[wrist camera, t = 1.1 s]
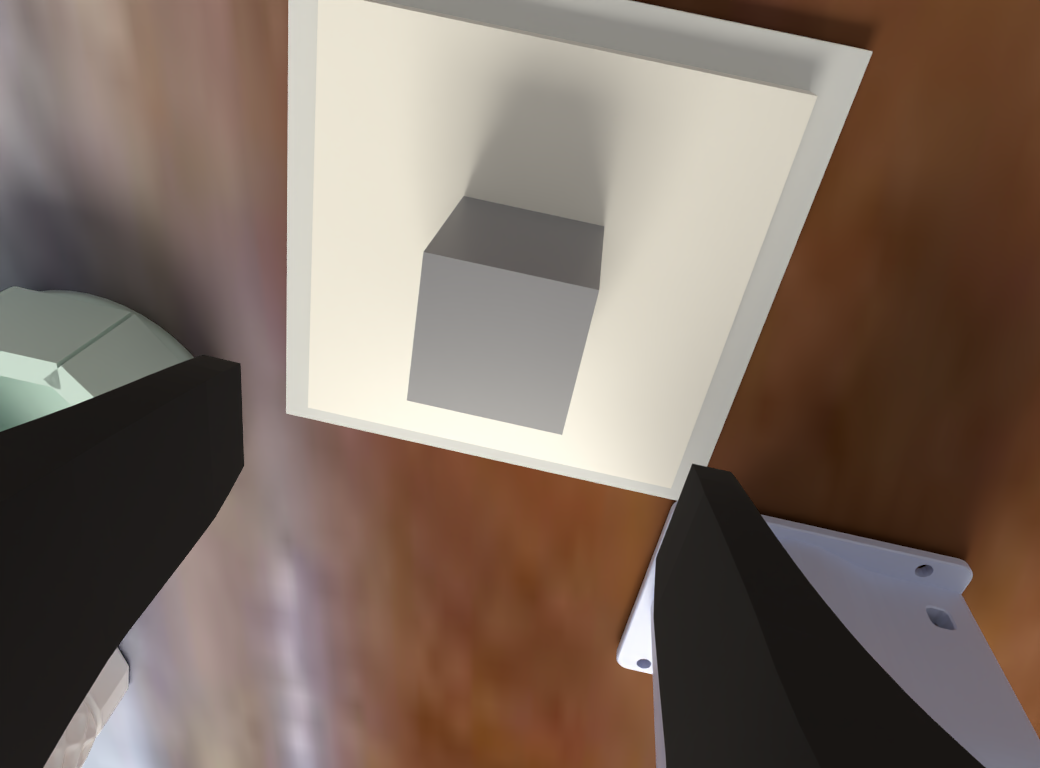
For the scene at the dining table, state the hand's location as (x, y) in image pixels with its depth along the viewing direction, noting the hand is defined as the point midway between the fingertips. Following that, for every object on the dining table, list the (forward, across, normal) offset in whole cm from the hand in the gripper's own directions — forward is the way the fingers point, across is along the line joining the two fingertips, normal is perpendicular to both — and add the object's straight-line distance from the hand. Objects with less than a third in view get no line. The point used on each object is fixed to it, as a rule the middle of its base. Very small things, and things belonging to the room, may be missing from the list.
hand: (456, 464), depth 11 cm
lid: (+9, 0, 0) cm, 9 cm away
